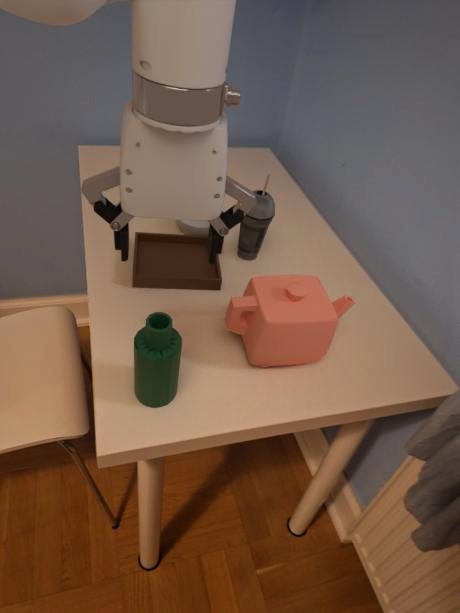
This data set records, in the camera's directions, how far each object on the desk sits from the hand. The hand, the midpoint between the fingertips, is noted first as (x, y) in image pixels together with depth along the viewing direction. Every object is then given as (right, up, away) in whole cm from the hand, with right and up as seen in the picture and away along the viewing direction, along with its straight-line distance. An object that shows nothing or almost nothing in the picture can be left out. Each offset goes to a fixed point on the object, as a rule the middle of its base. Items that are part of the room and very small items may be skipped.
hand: (168, 255), depth 46 cm
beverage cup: (+11, +6, +45) cm, 47 cm away
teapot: (+16, -13, +28) cm, 34 cm away
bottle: (-5, -19, +17) cm, 26 cm away
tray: (-4, +3, +38) cm, 39 cm away
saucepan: (-1, +15, +52) cm, 54 cm away
